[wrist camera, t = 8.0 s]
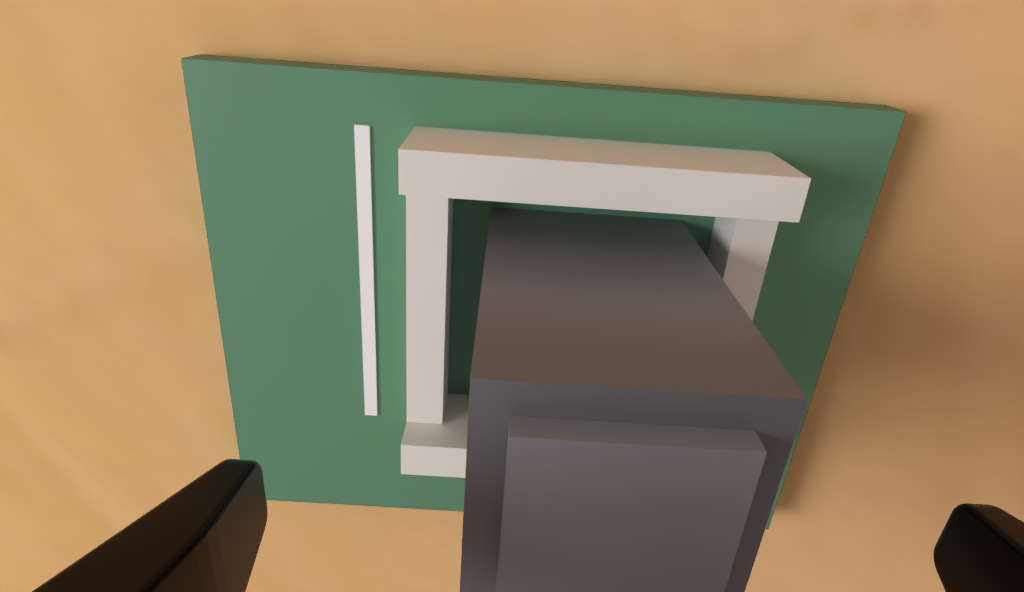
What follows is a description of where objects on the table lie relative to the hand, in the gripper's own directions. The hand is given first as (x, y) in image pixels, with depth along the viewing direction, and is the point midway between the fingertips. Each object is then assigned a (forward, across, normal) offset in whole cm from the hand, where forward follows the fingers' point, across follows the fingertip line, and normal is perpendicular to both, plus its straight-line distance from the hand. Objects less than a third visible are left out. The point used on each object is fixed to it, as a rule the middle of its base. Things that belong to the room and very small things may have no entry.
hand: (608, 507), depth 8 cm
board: (+7, +1, +1) cm, 7 cm away
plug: (+6, 0, 0) cm, 7 cm away
